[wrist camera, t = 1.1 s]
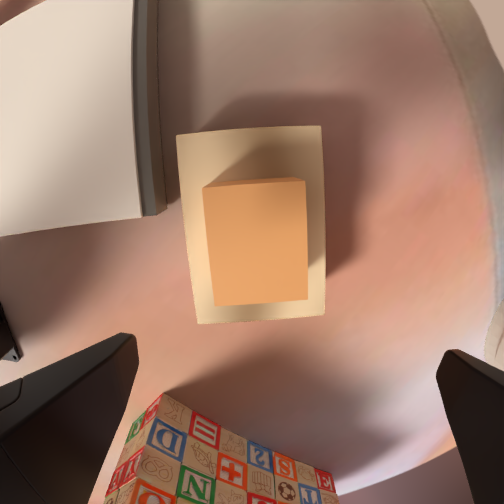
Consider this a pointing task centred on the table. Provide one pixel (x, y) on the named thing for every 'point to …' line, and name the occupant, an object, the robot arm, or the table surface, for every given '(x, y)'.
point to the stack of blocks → (207, 465)
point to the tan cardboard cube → (257, 240)
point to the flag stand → (495, 340)
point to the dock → (79, 115)
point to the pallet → (246, 168)
